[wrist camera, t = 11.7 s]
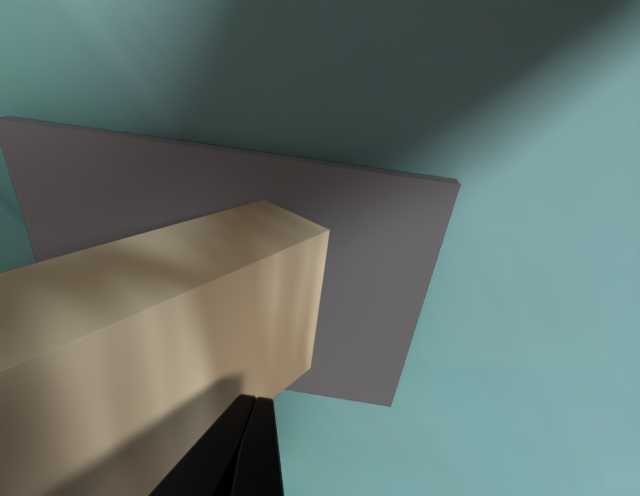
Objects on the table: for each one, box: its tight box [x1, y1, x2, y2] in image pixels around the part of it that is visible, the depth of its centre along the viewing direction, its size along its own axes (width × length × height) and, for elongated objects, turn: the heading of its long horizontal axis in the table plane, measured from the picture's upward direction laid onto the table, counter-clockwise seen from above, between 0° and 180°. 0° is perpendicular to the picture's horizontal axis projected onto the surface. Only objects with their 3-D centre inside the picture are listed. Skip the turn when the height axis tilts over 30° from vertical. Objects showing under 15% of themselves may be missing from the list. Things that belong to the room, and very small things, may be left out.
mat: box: [0, 116, 460, 407], centre depth 15 cm, size 16×11×1 cm
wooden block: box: [0, 200, 330, 496], centre depth 10 cm, size 3×6×9 cm
